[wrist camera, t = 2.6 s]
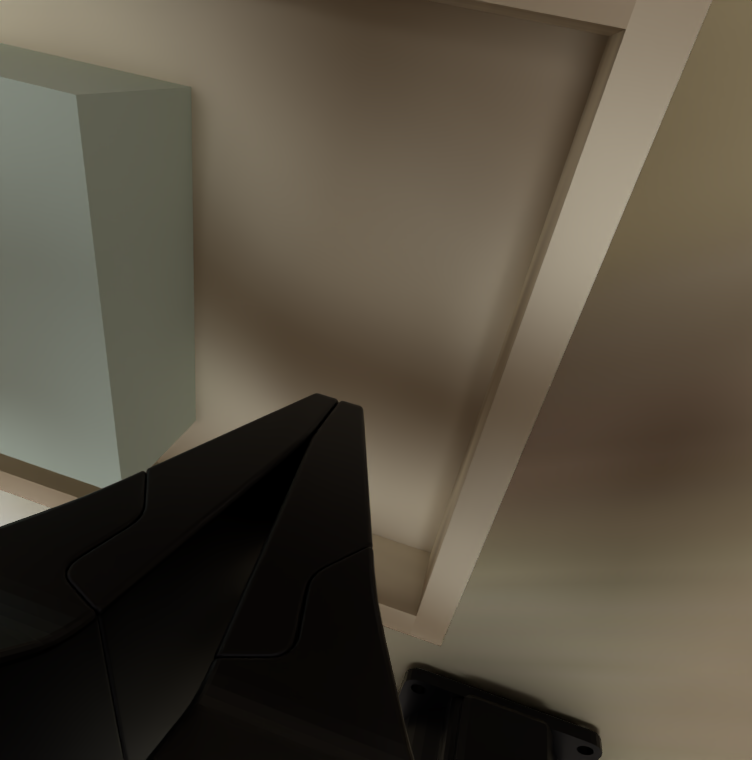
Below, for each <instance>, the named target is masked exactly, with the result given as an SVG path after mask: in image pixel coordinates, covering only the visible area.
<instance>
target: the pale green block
mask: <svg viewBox="0 0 752 760" xmlns="http://www.w3.org/2000/svg"><path fill="white" fill-rule="evenodd" d="M195 421H196V403H195V330H194V258H193V185H192V113H191V87H189V86H184V85H180V84H176V83H171V82H167V81H163V80H158V79H154V78H150V77H145V76H141V75H137V74H133V73H128V72H124V71H120V70H115V69H111V68H107V67H102V66H98V65H94V64H89V63H85V62H81V61H76V60H72V59H68V58H63V57H59V56H55V55H50V54H46V53H42V52H37V51H33V50H29V49H24V48H20V47H16V46H11V45H7V44H3V43H0V453H1V454H4V455H7V456H10V457H13V458H16V459H19V460H21V461H24V462H27V463H30V464H33V465H36V466H39V467H42V468H45V469H47V470H50V471H53V472H56V473H59V474H62V475H65V476H68V477H71V478H74V479H76V480H79V481H82V482H85V483H88V484H91V485H94V486H97V487H100V488H104V487H106V486H109V485H111V484H113V483H116V482H118V481H120V480H123V479H125V478H127V477H129V476H132V475H134V474H136V473H138V472H140V471H145V472H146V471H147V469H148V468H150V467H151V466H152V465H153V464H154V463H155V462H156V461H157V460H158V459H159V458H160V457H161V456H162V455H163V454H164V453H165V452H166V451H167V450H168V449H169V448H170V447H171V446H172V445H173V444H174V443H175V442H176V441H177V440H178V439H179V438H180V436H181V435H182V434H183V433H184V432H185V431H186V430H187V429H188V428H189V427H190V426H191V425H192V424H193V423H194V422H195Z"/></svg>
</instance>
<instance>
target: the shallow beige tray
mask: <svg viewBox="0 0 752 760" xmlns="http://www.w3.org/2000/svg"><path fill="white" fill-rule="evenodd" d="M711 2H712V0H0V43H3V44H7V45H11V46H16V47H20V48H24V49H29V50H33V51H37V52H42V53H46V54H50V55H55V56H59V57H63V58H68V59H72V60H76V61H81V62H85V63H89V64H94V65H98V66H102V67H107V68H111V69H115V70H120V71H124V72H128V73H133V74H137V75H141V76H145V77H150V78H154V79H158V80H163V81H167V82H171V83H176V84H180V85H184V86H189V87H191V113H192V185H193V258H194V330H195V403H196V421H195V422H194V423H193V424H192V425H191V426H190V427H189V428H188V429H187V430H186V431H185V432H184V433H183V434H182V435H181V436H180V438H179V439H178V440H177V441H176V442H175V443H174V444H173V445H172V446H171V447H170V448H169V449H168V450H167V451H166V452H165V453H164V454H163V455H162V456H161V457H160V458H159V459H158V460H157V461H156V462H155V463H154V464H153V465H152V466H154V465H156V464H159V463H161V462H163V461H165V460H168V459H170V458H172V457H174V456H176V455H179V454H181V453H183V452H185V451H188V450H190V449H192V448H194V447H196V446H199V445H201V444H203V443H205V442H207V441H210V440H212V439H214V438H216V437H219V436H221V435H223V434H225V433H227V432H230V431H232V430H234V429H236V428H239V427H241V426H243V425H245V424H247V423H250V422H252V421H254V420H256V419H259V418H261V417H263V416H265V415H267V414H270V413H272V412H274V411H276V410H279V409H281V408H283V407H285V406H287V405H290V404H292V403H294V402H296V401H299V400H301V399H303V398H305V397H307V396H310V395H312V394H315V393H319V394H323V395H326V396H329V397H333V398H336V399H337V400H338V402H340V401H346V402H349V403H353V404H356V405H359V406H361V407H362V408H363V410H364V425H365V439H366V454H367V468H368V483H369V497H370V512H371V526H372V541H373V548H372V549H373V552H374V566H375V576H376V585H377V594H378V602H379V608H380V613H381V618H382V624H383V626H385V627H388V628H391V629H393V630H396V631H399V632H402V633H405V634H407V635H410V636H413V637H416V638H419V639H422V640H424V641H427V642H430V643H433V644H436V645H438V646H441V644H442V642H443V640H444V637H445V635H446V633H447V630H448V628H449V625H450V623H451V621H452V618H453V616H454V613H455V611H456V609H457V606H458V604H459V602H460V599H461V597H462V594H463V592H464V590H465V587H466V585H467V583H468V580H469V578H470V575H471V573H472V571H473V568H474V566H475V564H476V561H477V559H478V556H479V554H480V552H481V549H482V547H483V545H484V542H485V540H486V537H487V535H488V533H489V530H490V528H491V525H492V523H493V521H494V518H495V516H496V514H497V511H498V509H499V506H500V504H501V502H502V499H503V497H504V495H505V492H506V490H507V487H508V485H509V483H510V480H511V478H512V476H513V473H514V471H515V468H516V466H517V464H518V461H519V459H520V457H521V454H522V452H523V449H524V447H525V445H526V442H527V440H528V438H529V435H530V433H531V430H532V428H533V426H534V423H535V421H536V418H537V416H538V414H539V411H540V409H541V407H542V404H543V402H544V399H545V397H546V395H547V392H548V390H549V388H550V385H551V383H552V380H553V378H554V376H555V373H556V371H557V369H558V366H559V364H560V361H561V359H562V357H563V354H564V352H565V350H566V347H567V345H568V342H569V340H570V338H571V335H572V333H573V330H574V328H575V326H576V323H577V321H578V319H579V316H580V314H581V311H582V309H583V307H584V304H585V302H586V300H587V297H588V295H589V292H590V290H591V288H592V285H593V283H594V281H595V278H596V276H597V273H598V271H599V269H600V266H601V264H602V262H603V259H604V257H605V254H606V252H607V250H608V247H609V245H610V242H611V240H612V238H613V235H614V233H615V231H616V228H617V226H618V223H619V221H620V219H621V216H622V214H623V212H624V209H625V207H626V204H627V202H628V200H629V197H630V195H631V193H632V190H633V188H634V185H635V183H636V181H637V178H638V176H639V174H640V171H641V169H642V166H643V164H644V162H645V159H646V157H647V154H648V152H649V150H650V147H651V145H652V143H653V140H654V138H655V135H656V133H657V131H658V128H659V126H660V124H661V121H662V119H663V116H664V114H665V112H666V109H667V107H668V105H669V102H670V100H671V97H672V95H673V93H674V90H675V88H676V86H677V83H678V81H679V78H680V76H681V74H682V71H683V69H684V66H685V64H686V62H687V59H688V57H689V55H690V52H691V50H692V47H693V45H694V43H695V40H696V38H697V36H698V33H699V31H700V28H701V26H702V24H703V21H704V19H705V17H706V14H707V12H708V9H709V7H710V5H711ZM152 466H151V467H152ZM99 489H102V488H100V487H97V486H94V485H91V484H88V483H85V482H82V481H79V480H76V479H74V478H71V477H68V476H65V475H62V474H59V473H56V472H53V471H50V470H47V469H45V468H42V467H39V466H36V465H33V464H30V463H27V462H24V461H21V460H19V459H16V458H13V457H10V456H7V455H4V454H1V453H0V490H2V491H5V492H8V493H11V494H14V495H17V496H19V497H22V498H25V499H28V500H31V501H33V502H36V503H39V504H42V505H45V506H47V507H50V508H54V507H56V506H59V505H61V504H64V503H67V502H69V501H72V500H75V499H77V498H80V497H83V496H85V495H87V494H90V493H92V492H95V491H97V490H99Z"/></svg>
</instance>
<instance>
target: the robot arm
mask: <svg viewBox="0 0 752 760" xmlns="http://www.w3.org/2000/svg"><path fill="white" fill-rule="evenodd" d="M372 548H373V541H372V526H371V512H370V497H369V483H368V468H367V454H366V439H365V425H364V410H363V408H362V407H361V406H359V405H356V404H353V403H349V402H346V401H340V402H338V400H337V399H336V398H333V397H329V396H326V395H323V394H319V393H315V394H312V395H310V396H307V397H305V398H303V399H301V400H299V401H296V402H294V403H292V404H290V405H287V406H285V407H283V408H281V409H279V410H276V411H274V412H272V413H270V414H267V415H265V416H263V417H261V418H259V419H256V420H254V421H252V422H250V423H247V424H245V425H243V426H241V427H239V428H236V429H234V430H232V431H230V432H227V433H225V434H223V435H221V436H219V437H216V438H214V439H212V440H210V441H207V442H205V443H203V444H201V445H199V446H196V447H194V448H192V449H190V450H188V451H185V452H183V453H181V454H179V455H176V456H174V457H172V458H170V459H168V460H165V461H163V462H161V463H159V464H156V465H154V466H152V467H150V468H148V469H147V471H146V472H145V471H140V472H138V473H136V474H134V475H132V476H129V477H127V478H125V479H123V480H120V481H118V482H116V483H113V484H111V485H109V486H106V487H104V488H102V489H99V490H97V491H95V492H92V493H90V494H87V495H85V496H83V497H80V498H77V499H75V500H72V501H69V502H67V503H64V504H61V505H59V506H56V507H54V508H51V509H48V510H46V511H43V512H40V513H37V514H35V515H32V516H29V517H26V518H23V519H21V520H18V521H15V522H12V523H9V524H7V525H4V526H1V527H0V760H598V759H599V758H600V757H601V755H602V745H601V738H600V736H599V735H598V734H597V733H595V732H593V731H591V730H589V729H586V728H583V727H581V726H578V725H575V724H572V723H570V722H567V721H564V720H561V719H559V718H556V717H553V716H550V715H547V714H545V713H542V712H539V711H536V710H534V709H531V708H528V707H525V706H523V705H520V704H517V703H514V702H512V701H509V700H506V699H503V698H501V697H498V696H495V695H492V694H490V693H487V692H484V691H481V690H479V689H476V688H473V687H470V686H468V685H465V684H462V683H459V682H457V681H454V680H451V679H448V678H446V677H443V676H440V675H437V674H435V673H432V672H429V671H426V670H423V669H419V668H412V669H409V670H408V671H407V672H406V675H405V677H404V680H403V683H402V685H401V688H400V690H399V693H398V692H397V687H396V683H395V678H394V674H393V670H392V665H391V661H390V657H389V652H388V648H387V643H386V639H385V634H384V629H383V624H382V618H381V613H380V608H379V602H378V594H377V585H376V576H375V566H374V552H373V549H372Z"/></svg>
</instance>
